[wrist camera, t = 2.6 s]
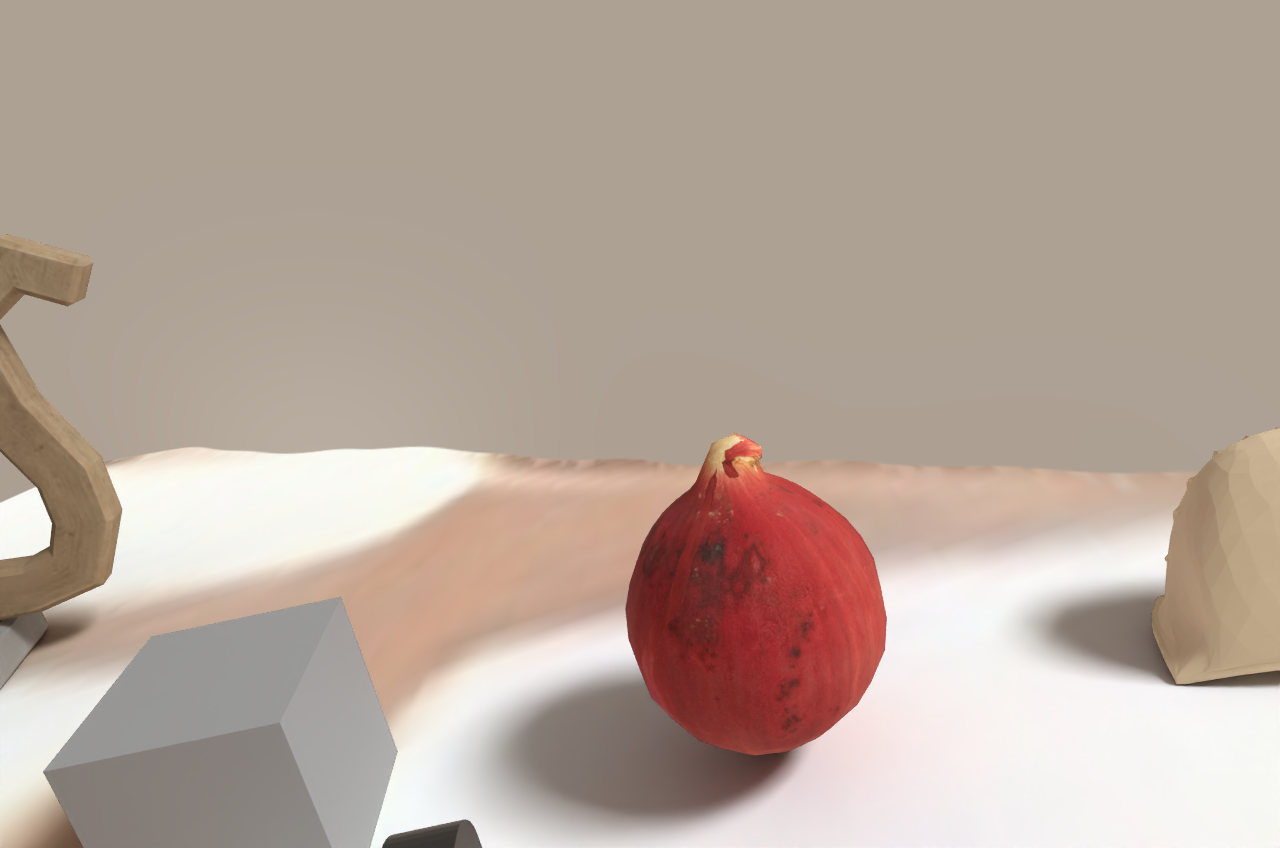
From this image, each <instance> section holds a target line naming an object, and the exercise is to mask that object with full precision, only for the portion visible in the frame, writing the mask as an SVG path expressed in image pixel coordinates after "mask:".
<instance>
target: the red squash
mask: <svg viewBox="0 0 1280 848" xmlns="http://www.w3.org/2000/svg"><path fill="white" fill-rule="evenodd" d="M761 458H762V448H761V447H760V446H759V445H758V444H756V443H755V442H753V441H752V440H750V439H748V438H746V437H744V436H741V435H738V434H736V433H733V434H731V435H730V436H728V437H727V438H723V439H721V440H719V441H717V442H714V443H712V445H711V448H710V450H709V452H708V454H707V457H706V459H705V461H704V464H703V466H702V468H701V471H700V473H699V476H698V478H697V480H696V482H695V484H694V485H693V486H692V487H691V488H690V490H688V491H687V492H685V493H684V494H683V495H682V496H680V497H679V498H678V499H676V500H675V501H674V502H673V503H672V504H671V505H670V506H669V507H668V508H667V509H666V510H665V511H664V512H663V513H662V514H661V516H660V517H659V518H658V520H657V521H656V522H655V524H654V525H653V526H652V528H651V530H650V532H649V534H648V535H647V537H646V539H645V541H644V543H643V545H642V548H641V551H640V554H639V557H638V560H637V562H636V566H635V569H634V572H633V575H632V578H631V581H630V585H629V591H628V597H627V603H626V619H627V629H628V638H629V642H630V644H631V647H632V650H633V652H634V655H635V658H636V661H637V663H638V666H639V668H640V671H641V673H642V676H643V678H644V681H645V683H646V685H647V688H648V690H649V693H650V695H651V697H652V698H653V699H654V700H655V701H656V702H657V703H658V704H659V705H660V706H661V707H662V708H663V709H664V710H665V711H666V712H667V713H668V714H669V715H670V717H671V718H672V719H673V720H675V721H676V722H677V723H678V724H680V725H681V726H682V727H683V728H685V729H686V730H687V731H688V732H689V733H691V734H692V735H693V736H694V737H696V738H697V739H698V740H699V741H701V742H705V743H708V744H711V745H714V746H717V747H720V748H723V749H728V750H732V751H737V752H741V753H745V754H750V755H762V754H770V753H779V752H787V751H791V750H793V749H795V748H797V747H799V746H801V745H803V744H806V743H808V742H810V741H812V740H814V739H816V738H818V737H820V736H821V735H822V734H824V733H825V732H826V731H827V730H829V729H830V728H831V727H832V726H833V725H835V724H836V723H837V722H838V721H839V720H840V719H841V718H843V717H844V716H845V715H846V714H847V713H848V712H849V711H851V710H852V709H853V708H854V707H855V706H856V705H857V704H858V703H859V701H860V699H861V698H862V696H863V694H864V693H865V691H866V690H867V688H868V686H869V685H870V683H871V681H872V679H873V676H874V674H875V672H876V669H877V667H878V665H879V662H880V660H881V658H882V655H883V653H884V651H885V639H886V621H887V617H886V612H885V607H884V602H883V597H882V591H881V586H880V582H879V578H878V574H877V570H876V566H875V561H874V558H873V556H872V554H871V552H870V551H869V549H868V547H867V545H866V544H865V542H864V540H863V538H862V537H861V535H860V534H859V533H858V532H857V531H856V529H855V528H854V527H853V526H852V525H851V524H850V523H849V521H848V520H847V519H846V518H845V517H844V516H842V515H841V514H840V513H839V512H837V511H836V510H835V509H834V508H832V507H831V506H830V505H829V504H827V503H826V502H824V501H823V500H821V499H820V498H818V497H817V496H816V495H814V494H813V493H811V492H810V491H808V490H806V489H805V488H803V487H801V486H799V485H798V484H796V483H794V482H791V481H789V480H787V479H784V478H782V477H778V476H775V475H772V474H768V473H766V472H763V469H762V467H761V465H760V463H759V461H758V460H760V459H761Z"/></svg>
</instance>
